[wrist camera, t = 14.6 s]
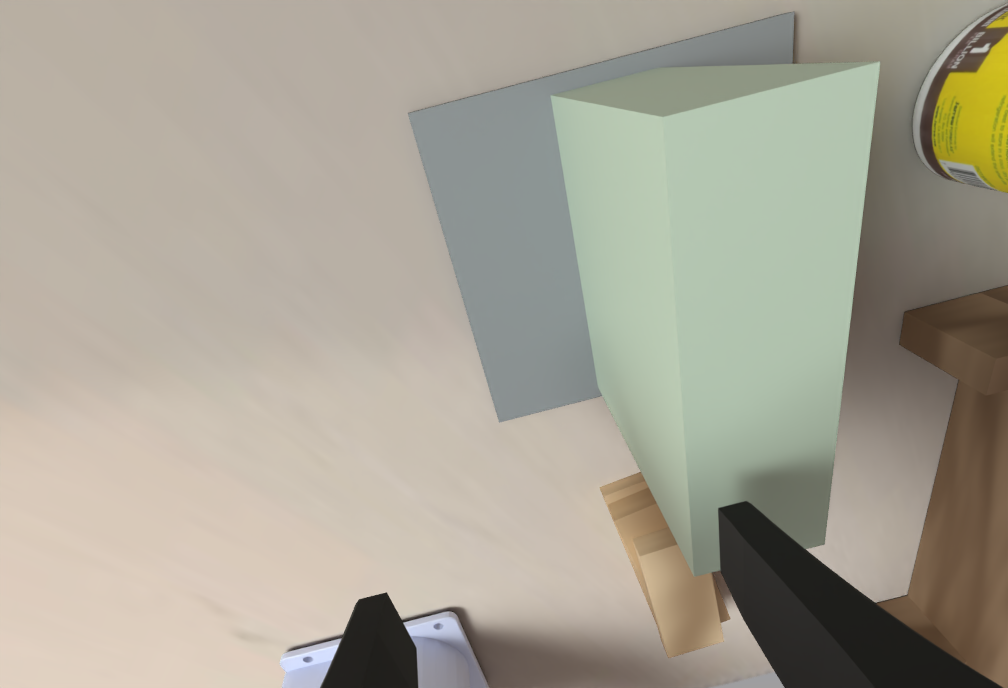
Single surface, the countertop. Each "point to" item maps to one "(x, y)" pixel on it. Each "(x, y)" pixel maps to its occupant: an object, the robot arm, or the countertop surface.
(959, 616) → the walnut rack
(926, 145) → the supplement bottle
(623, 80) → the tall sage green prism
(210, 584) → the countertop surface
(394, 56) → the countertop surface
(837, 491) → the countertop surface
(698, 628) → the offcut stack
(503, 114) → the slate mat
